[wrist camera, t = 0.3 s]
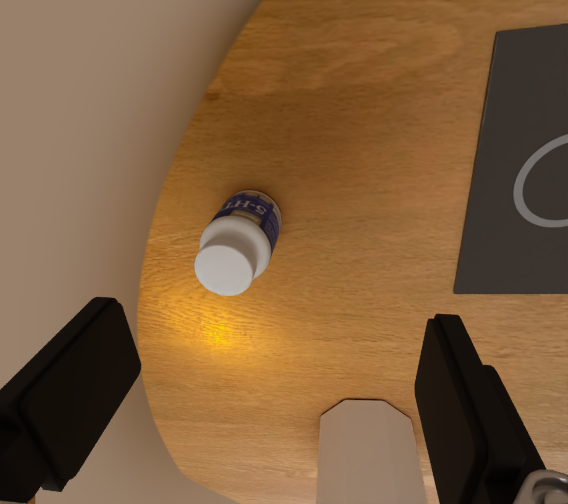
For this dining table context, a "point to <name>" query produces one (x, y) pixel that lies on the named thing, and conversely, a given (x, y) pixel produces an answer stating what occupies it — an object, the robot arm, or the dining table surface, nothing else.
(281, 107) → the dining table surface
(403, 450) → the cup
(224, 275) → the pill bottle
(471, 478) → the robot arm
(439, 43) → the dining table surface
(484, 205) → the hob
